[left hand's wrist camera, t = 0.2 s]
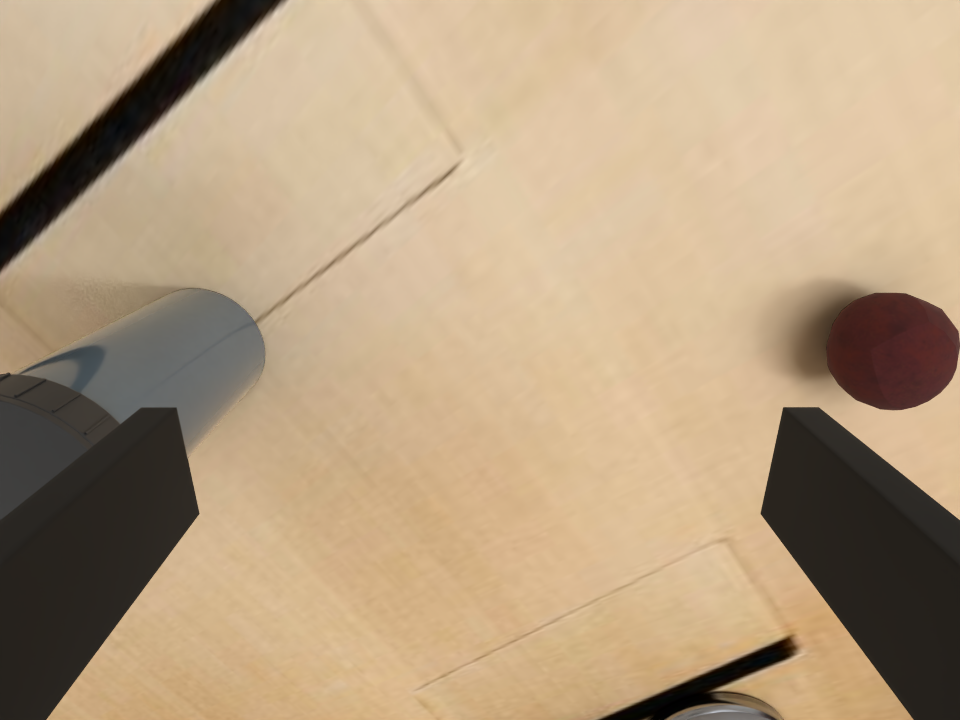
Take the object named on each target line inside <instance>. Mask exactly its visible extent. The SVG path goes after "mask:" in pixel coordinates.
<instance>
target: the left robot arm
mask: <svg viewBox="0 0 960 720" xmlns="http://www.w3.org/2000/svg"><path fill="white" fill-rule="evenodd" d="M198 515H199V510H198V505H197V500H196V496H195V491H194V486H193V482H192V477H191V472H190V467H189V463H188V458H187V453H186V449H185V444H184V439H183V435H182V430H181V425H180V421H179V416H178V411H177V407H141V408H140V409H139V410H137V411H136V412H135V413H134V414H132V415H131V416H130V417H129V418H127V419H126V420H125V421H124V422H122V423H121V424H120V425H119V426H117V427H116V428H115V429H114V430H112V431H111V432H110V433H109V434H107V435H106V436H105V437H104V438H102V439H101V440H100V441H99V442H97V443H96V444H95V445H94V446H92V447H91V448H90V449H89V450H87V451H86V452H85V453H84V454H82V455H81V456H80V457H79V458H77V459H76V460H75V461H74V462H72V463H71V464H70V465H69V466H67V467H66V468H65V469H64V470H62V471H61V472H60V473H59V474H57V475H56V476H55V477H54V478H52V479H51V480H50V481H49V482H47V483H46V484H45V485H44V486H42V487H41V488H40V489H39V490H37V491H36V492H35V493H34V494H32V495H31V496H30V497H29V498H27V499H26V500H25V501H24V502H22V503H21V504H20V505H19V506H17V507H16V508H15V509H14V510H12V511H11V512H10V513H9V514H7V515H6V516H5V517H4V518H2V519H1V520H0V720H46V719H47V718H48V717H49V715H50V714H51V713H52V711H53V710H54V708H55V707H56V706H57V704H58V703H59V702H60V700H61V699H62V698H63V696H64V695H65V694H66V692H67V691H68V690H69V688H70V687H71V686H72V684H73V683H74V682H75V680H76V679H77V678H78V676H79V675H80V674H81V672H82V671H83V670H84V668H85V667H86V665H87V664H88V663H89V661H90V660H91V659H92V657H93V656H94V655H95V653H96V652H97V651H98V649H99V648H100V647H101V645H102V644H103V643H104V641H105V640H106V639H107V637H108V636H109V635H110V633H111V632H112V631H113V629H114V628H115V626H116V625H117V624H118V622H119V621H120V620H121V618H122V617H123V616H124V614H125V613H126V612H127V610H128V609H129V608H130V606H131V605H132V604H133V602H134V601H135V600H136V598H137V597H138V596H139V594H140V593H141V592H142V590H143V589H144V587H145V586H146V585H147V583H148V582H149V581H150V579H151V578H152V577H153V575H154V574H155V573H156V571H157V570H158V569H159V567H160V566H161V565H162V563H163V562H164V561H165V559H166V558H167V557H168V555H169V554H170V553H171V551H172V550H173V548H174V547H175V546H176V544H177V543H178V542H179V540H180V539H181V538H182V536H183V535H184V534H185V532H186V531H187V530H188V528H189V527H190V526H191V524H192V523H193V522H194V520H195V519H196V518H197V516H198ZM761 515H762V516H763V518H764V519H765V520H766V522H767V523H768V524H769V526H770V527H771V528H772V530H773V531H774V532H775V534H776V535H777V536H778V538H779V539H780V540H781V542H782V543H783V544H784V546H785V547H786V548H787V550H788V551H789V553H790V554H791V555H792V557H793V558H794V559H795V561H796V562H797V563H798V565H799V566H800V567H801V569H802V570H803V571H804V573H805V574H806V575H807V577H808V578H809V579H810V581H811V582H812V583H813V585H814V586H815V587H816V589H817V590H818V592H819V593H820V594H821V596H822V597H823V598H824V600H825V601H826V602H827V604H828V605H829V606H830V608H831V609H832V610H833V612H834V613H835V614H836V616H837V617H838V618H839V620H840V621H841V622H842V624H843V625H844V626H845V628H846V629H847V631H848V632H849V633H850V635H851V636H852V637H853V639H854V640H855V641H856V643H857V644H858V645H859V647H860V648H861V649H862V651H863V652H864V653H865V655H866V656H867V657H868V659H869V660H870V661H871V663H872V664H873V665H874V667H875V668H876V670H877V671H878V672H879V674H880V675H881V676H882V678H883V679H884V680H885V682H886V683H887V684H888V686H889V687H890V688H891V690H892V691H893V692H894V694H895V695H896V696H897V698H898V699H899V700H900V702H901V703H902V704H903V706H904V707H905V708H906V710H907V711H908V713H909V714H910V715H911V717H912V718H913V719H914V720H960V520H959V519H958V518H956V517H955V516H954V515H953V514H951V513H950V512H949V511H948V510H946V509H945V508H944V507H943V506H941V505H940V504H939V503H938V502H936V501H935V500H934V499H933V498H931V497H930V496H929V495H928V494H926V493H925V492H924V491H923V490H921V489H920V488H919V487H918V486H916V485H915V484H914V483H913V482H911V481H910V480H909V479H908V478H906V477H905V476H904V475H903V474H901V473H900V472H899V471H898V470H896V469H895V468H894V467H893V466H891V465H890V464H889V463H888V462H886V461H885V460H884V459H883V458H881V457H880V456H879V455H878V454H876V453H875V452H874V451H873V450H871V449H870V448H869V447H868V446H866V445H865V444H864V443H863V442H861V441H860V440H859V439H858V438H856V437H855V436H854V435H853V434H851V433H850V432H849V431H848V430H846V429H845V428H844V427H843V426H841V425H840V424H839V423H838V422H836V421H835V420H834V419H833V418H831V417H830V416H829V415H828V414H826V413H825V412H824V411H823V410H821V409H820V408H819V407H783V411H782V416H781V421H780V425H779V430H778V435H777V439H776V444H775V449H774V453H773V458H772V463H771V467H770V472H769V477H768V482H767V486H766V491H765V496H764V500H763V505H762V510H761Z"/></svg>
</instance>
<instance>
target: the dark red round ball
mask: <svg viewBox="0 0 960 720" xmlns="http://www.w3.org/2000/svg"><path fill="white" fill-rule="evenodd" d="M959 349H960V341H959V333H958V330H957V329H956V327H955V326H954V325H953V323H952V322H951V321H950V319H949V318H948V317H947V315H946V314H945V313H944V311H943V310H942V309H940V308H938V307H936V306H934V305H932V304H930V303H928V302H926V301H924V300H921V299H918V298H916V297H913V296H911V295H908V294H904V293H874V294H871V295H868V296H865V297H862V298H859V299H857V300H855V301H853V302H852V303H851V304H849V305H848V306H847V307H846V308H844V309H843V310H842V311H841V312H840V314H839V315H838V317H837V318H836V320H835V321H834V323H833V325H832V329H831V332H830V335H829V339H828V343H827V347H826V350H827V364H828V367H829V370H830V372H831V374H832V375H833V377H834V378H835V380H836V381H837V383H838V384H839V385H840V386H841V387H842V388H843V389H844V390H845V391H846V392H847V393H848V394H849V395H851V396H852V397H853V398H854V399H855V400H857V401H860V402H863V403H865V404H868V405H871V406H873V407H876V408H878V409H884V410H903V409H908V408H912V407H916V406H918V405H921V404H923V403H925V402H928V401H929V400H931V399H932V398H934V397H935V396H937V395H938V394H939V393H941V392H942V391H943V389H944V388H945V387H946V386H947V385H948V384H949V382H950V381H951V380H952V378H953V375H954V373H955V371H956V368H957V361H958V355H959Z"/></svg>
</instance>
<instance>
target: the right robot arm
mask: <svg viewBox="0 0 960 720" xmlns="http://www.w3.org/2000/svg"><path fill="white" fill-rule="evenodd" d="M650 720H784V719H783V718H782V716H781V715H780V714H779V713H778V712H777V711H776V710H775V709H774V708H772V707H771V706H769V705H768V704H766V703H764V702H762V701H760V700H758V699H755V698H752V697H748V696H745V695H739V694H731V693H714V694H705V695H700V696H695V697H691V698H688V699H685V700H682V701H679V702H677V703H675V704H673V705H671V706H669V707H667V708H665V709H663V710H662V711H660V712H659V713H658V714H656V715H655V716H654V717H653V718H651V719H650Z"/></svg>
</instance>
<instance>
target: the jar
mask: <svg viewBox="0 0 960 720" xmlns="http://www.w3.org/2000/svg"><path fill="white" fill-rule="evenodd" d="M264 363H265V347H264V342H263V338H262V335H261V333H260V330H259V329H258V327H257V325H256V323H255V322H254V320H253V319H252V318H251V316H250V315H249V314H248V313H247V312H246V311H245V310H244V309H243V308H242V307H241V306H240V305H238V304H237V303H236V302H234V301H233V300H231V299H229V298H228V297H226V296H224V295H221V294H219V293H217V292H213V291H210V290H204V289H192V288H191V289H182V290H178V291H175V292H172V293H170V294H167V295H165V296H163V297H161V298H159V299H158V300H156V301H154V302H152V303H150V304H148V305H146V306H144V307H142V308H140V309H138V310H136V311H134V312H132V313H130V314H128V315H126V316H124V317H122V318H120V319H118V320H116V321H114V322H112V323H110V324H108V325H106V326H104V327H102V328H100V329H98V330H96V331H94V332H92V333H90V334H88V335H86V336H84V337H82V338H80V339H78V340H76V341H74V342H72V343H71V344H69V345H67V346H65V347H63V348H61V349H59V350H57V351H55V352H53V353H51V354H49V355H47V356H45V357H43V358H41V359H39V360H37V361H35V362H33V363H31V364H29V365H27V366H25V367H23V368H21V369H19V370H17V371H15V372H13V373H11V374H19V375H27V376H34V377H39V378H42V379H43V378H45V379H46V380H50V381H53V382H56V383H59V384H61V385H64V386H67V387H69V388H71V389H73V390H75V391H77V392H79V393H81V394H83V395H84V396H86V397H87V398H89V399H91V400H92V401H94V402H95V403H97V404H98V405H99V406H101V407H102V408H103V409H105V410H106V411H107V412H108V413H109V414H111V415H112V417H114V418H115V419H116V420H117V421H118V422H119V423H120V424H121V423H122V422H124V421H125V420H126V419H127V418H129V417H130V416H131V415H132V414H134V413H135V412H136V411H137V410H139V409H140V408H141V407H177V411H178V416H179V421H180V425H181V430H182V435H183V439H184V444H185V449H186V453H187V458H189V456H190V455H191V454H192V453H193V452H194V451H195V450H196V449H197V448H198V447H199V445H200V444H201V443H202V442H203V441H204V440H205V439H206V438H207V437H208V436H209V434H210V433H211V432H212V431H213V430H214V429H215V428H216V427H217V426H218V425H219V423H220V422H221V421H222V420H223V419H224V418H225V417H226V416H227V415H228V413H229V412H230V411H231V410H232V409H233V408H234V407H235V406H236V405H237V404H238V402H239V401H240V400H241V399H242V398H243V397H244V396H245V395H246V394H247V393H248V391H249V390H250V389H251V388H252V387H253V386H254V385H255V383H256V382H257V381H258V379H259V377H260V375H261V373H262V371H263V368H264Z"/></svg>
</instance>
